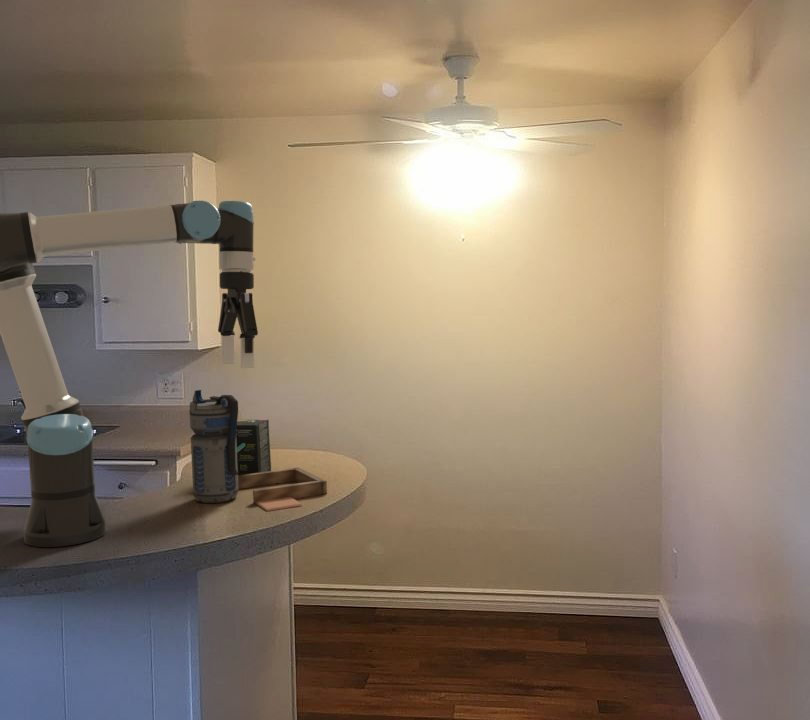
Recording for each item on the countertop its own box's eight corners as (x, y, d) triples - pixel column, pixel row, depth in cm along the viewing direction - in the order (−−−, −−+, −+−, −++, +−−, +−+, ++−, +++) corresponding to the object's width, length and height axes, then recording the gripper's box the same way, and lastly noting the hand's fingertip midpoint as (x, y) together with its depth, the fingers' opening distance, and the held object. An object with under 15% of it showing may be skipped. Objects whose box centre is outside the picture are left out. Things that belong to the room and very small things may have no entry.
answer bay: (255, 504, 185) (255, 491, 185) (231, 488, 201) (231, 476, 200) (326, 493, 193) (326, 480, 193) (298, 479, 209) (298, 467, 209)
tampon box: (271, 474, 215) (269, 418, 214) (259, 482, 206) (257, 424, 205) (231, 474, 217) (229, 418, 216) (217, 482, 208) (215, 424, 207)
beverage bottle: (223, 508, 182) (218, 395, 180) (182, 500, 189) (176, 392, 187) (255, 498, 191) (251, 390, 188) (215, 491, 198) (210, 387, 196)
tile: (267, 511, 179) (266, 508, 179) (255, 503, 186) (255, 500, 186) (301, 505, 183) (301, 503, 183) (288, 498, 190) (288, 496, 190)
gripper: (272, 270, 177) (272, 369, 178) (235, 273, 198) (235, 361, 200) (238, 269, 173) (239, 370, 175) (204, 272, 195) (204, 362, 196)
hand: (237, 366), depth 187 cm, fingers open, 13 cm apart
